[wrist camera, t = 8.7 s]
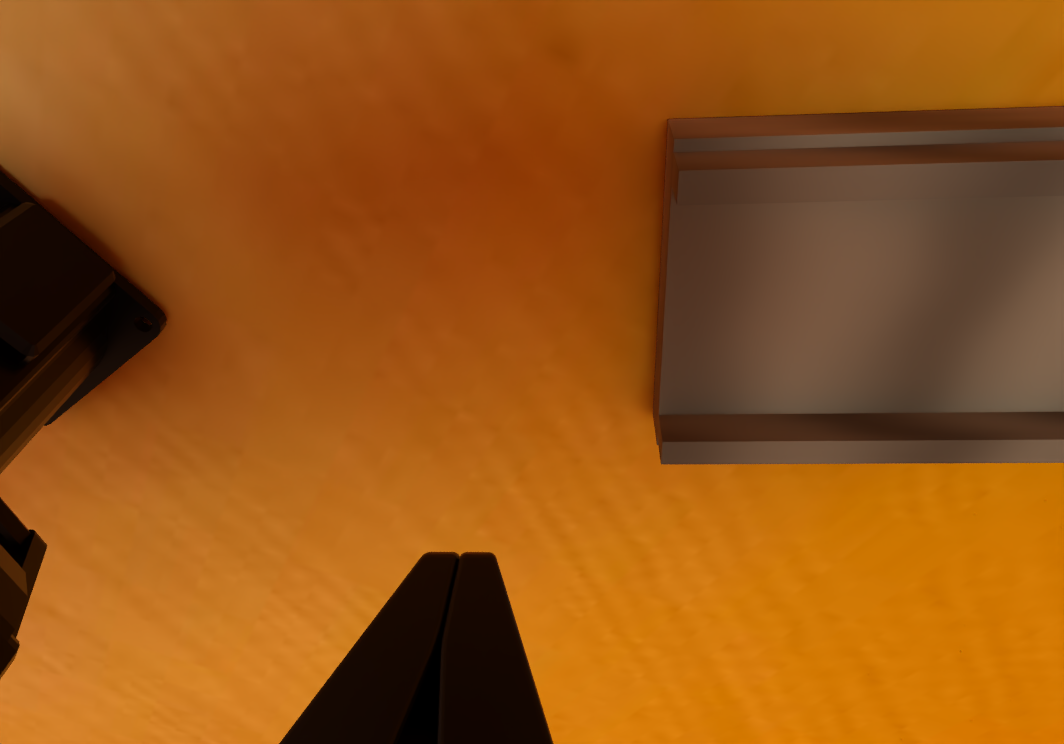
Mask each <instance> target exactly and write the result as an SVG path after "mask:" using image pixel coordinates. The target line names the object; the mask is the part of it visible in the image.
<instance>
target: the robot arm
mask: <svg viewBox="0 0 1064 744" xmlns="http://www.w3.org/2000/svg"><path fill="white" fill-rule="evenodd" d="M141 317H144V318H146V319H148V320H149V321H150V322H151V324H152V325H149V324H147V323H145V322H144V321H143V320H142V319H141ZM166 321H167V319H166V317H165V314H164V313H163V312H162V310H161V309H160V308H159V307H157V306H156V305H155V304H154V303H153V302H152V301H151V300H149V299H148V298H147V297H146V296H145V295H144V294H142V293H141V292H140V291H139V290H138V289H137V288H135V287H134V286H133V285H132V284H131V283H130V282H129V281H127V280H126V279H125V278H124V277H123V276H122V275H120V274H119V273H118V272H117V271H116V270H115V269H113V268H112V267H111V266H110V265H109V264H108V263H107V262H105V261H104V260H103V259H102V258H101V257H100V256H98V255H97V254H96V253H95V252H94V251H93V250H92V249H90V248H89V247H88V246H87V245H86V244H85V243H83V242H82V241H81V240H80V239H79V238H78V237H76V236H75V235H74V234H73V233H72V232H71V231H70V230H68V229H67V228H66V227H65V226H64V225H63V224H61V223H60V222H59V221H58V220H57V219H56V218H54V217H53V216H52V215H51V214H50V213H49V212H48V211H46V210H45V209H44V208H43V207H42V206H41V205H39V204H38V203H37V202H36V201H35V200H34V199H32V198H31V197H30V196H29V195H28V194H27V193H26V192H24V191H23V190H22V189H21V188H20V187H19V186H17V185H16V184H15V183H14V182H13V181H12V180H10V179H9V178H8V177H7V176H6V175H5V174H4V173H2V172H1V171H0V474H1V473H2V472H3V470H4V469H5V468H6V467H7V466H8V465H9V464H10V463H11V461H12V460H13V459H14V458H15V457H16V456H17V455H18V454H19V453H20V451H21V450H22V449H23V448H24V447H25V446H26V445H27V444H28V443H29V441H30V440H31V439H32V438H33V437H34V436H35V435H36V434H37V432H38V431H39V430H40V429H41V428H42V427H43V426H47V425H49V424H51V423H52V422H53V421H55V420H56V419H57V418H58V417H59V416H61V415H62V414H63V413H64V412H66V411H67V410H68V409H69V408H70V407H72V406H73V405H74V404H75V403H77V402H78V401H79V400H80V399H81V398H83V397H84V396H85V395H86V394H88V393H89V392H90V391H91V390H92V389H94V388H95V387H96V386H97V385H99V384H100V383H101V382H102V381H103V380H105V379H106V378H107V377H108V376H110V375H111V374H112V373H113V372H114V371H116V370H117V369H118V368H119V367H121V366H122V365H123V364H124V363H125V362H127V361H128V360H129V359H130V358H132V357H133V356H134V355H135V354H136V353H138V352H139V351H140V350H141V349H143V348H144V347H145V346H146V345H147V344H149V343H150V342H151V341H152V340H154V339H155V338H156V337H157V336H158V335H159V334H160V333H161V331H162V330H163V329H164V327H165V326H166ZM46 548H47V544H46V543H45V542H44V541H43V540H42V539H41V537H40V536H39V535H38V534H37V533H36V532H35V531H34V530H28V529H27V528H26V527H25V525H24V524H23V523H22V522H21V521H20V520H19V518H18V517H17V516H16V515H15V514H14V513H13V511H12V510H11V509H10V508H9V507H8V506H7V504H6V503H5V502H4V501H3V500H2V499H1V497H0V679H1V677H2V676H3V675H4V673H5V672H6V670H7V669H8V668H9V666H10V665H11V663H12V662H13V661H14V659H15V656H16V654H17V651H18V648H19V646H20V645H19V641H18V640H17V639H16V636H17V633H18V631H19V628H20V625H21V622H22V619H23V616H24V613H25V610H26V607H27V604H28V601H29V598H30V595H31V592H32V590H33V587H34V584H35V581H36V578H37V575H38V572H39V569H40V566H41V563H42V560H43V557H44V554H45V551H46ZM279 744H553V741H552V737H551V734H550V731H549V728H548V724H547V721H546V718H545V715H544V712H543V708H542V705H541V702H540V699H539V695H538V692H537V689H536V686H535V682H534V679H533V676H532V673H531V669H530V666H529V663H528V660H527V656H526V653H525V650H524V647H523V643H522V640H521V637H520V634H519V630H518V627H517V624H516V621H515V617H514V614H513V611H512V608H511V604H510V601H509V598H508V595H507V591H506V588H505V585H504V582H503V578H502V575H501V572H500V569H499V565H498V562H497V559H496V557H495V555H494V554H493V553H491V552H465V553H463V554H461V556H459V554H457V553H455V552H428V553H426V554H424V555H423V556H422V557H421V558H420V559H419V561H418V562H417V563H416V565H415V566H414V567H413V568H412V570H411V571H410V572H409V574H408V575H407V576H406V578H405V579H404V580H403V582H402V583H401V584H400V586H399V587H398V588H397V589H396V591H395V592H394V593H393V595H392V596H391V597H390V599H389V600H388V601H387V603H386V604H385V605H384V607H383V608H382V609H381V611H380V612H379V613H378V614H377V616H376V617H375V618H374V620H373V621H372V622H371V624H370V625H369V626H368V628H367V629H366V630H365V632H364V633H363V634H362V635H361V637H360V638H359V639H358V641H357V642H356V643H355V645H354V646H353V647H352V649H351V650H350V651H349V653H348V654H347V655H346V657H345V658H344V659H343V660H342V662H341V663H340V664H339V666H338V667H337V668H336V670H335V671H334V672H333V674H332V675H331V676H330V678H329V679H328V680H327V681H326V683H325V684H324V685H323V687H322V688H321V689H320V691H319V692H318V693H317V695H316V696H315V697H314V699H313V700H312V701H311V703H310V704H309V705H308V706H307V708H306V709H305V710H304V712H303V713H302V714H301V716H300V717H299V718H298V720H297V721H296V722H295V724H294V725H293V726H292V728H291V729H290V730H289V731H288V733H287V734H286V735H285V737H284V738H283V739H282V741H281V742H280V743H279Z"/></svg>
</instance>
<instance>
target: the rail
mask: <svg viewBox="0 0 1064 744" xmlns="http://www.w3.org/2000/svg"><path fill="white" fill-rule="evenodd" d="M653 418H654V426H655V433H656V441H657V445H659V452H660V460H661V464H863V463H1064V106H1054V107H1023V108H993V109H962V110H932V111H901V112H870V113H840V114H809V115H778V116H748V117H717V118H687V119H668V127H667V146H666V166H665V186H664V205H663V225H662V245H661V264H660V284H659V303H658V323H657V343H656V362H655V382H654V402H653Z"/></svg>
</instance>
